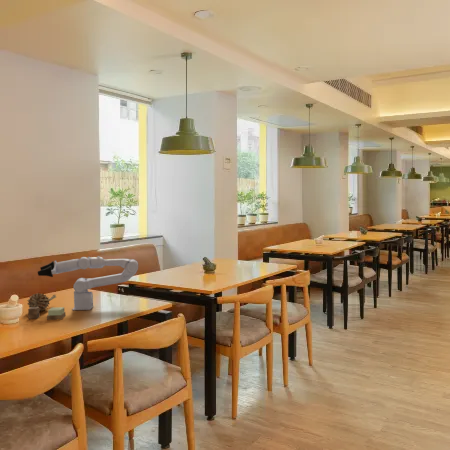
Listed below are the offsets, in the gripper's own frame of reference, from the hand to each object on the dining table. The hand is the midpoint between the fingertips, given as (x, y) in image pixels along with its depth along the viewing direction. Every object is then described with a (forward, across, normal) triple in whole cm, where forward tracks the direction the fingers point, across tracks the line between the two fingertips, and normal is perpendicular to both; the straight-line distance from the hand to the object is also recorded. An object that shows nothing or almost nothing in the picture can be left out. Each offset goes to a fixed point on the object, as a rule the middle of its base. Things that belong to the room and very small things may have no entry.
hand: (39, 271), depth 251 cm
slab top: (-8, +20, +18) cm, 28 cm away
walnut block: (+3, +17, +18) cm, 25 cm away
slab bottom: (-7, +20, +20) cm, 29 cm away
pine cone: (+2, +1, +21) cm, 21 cm away
